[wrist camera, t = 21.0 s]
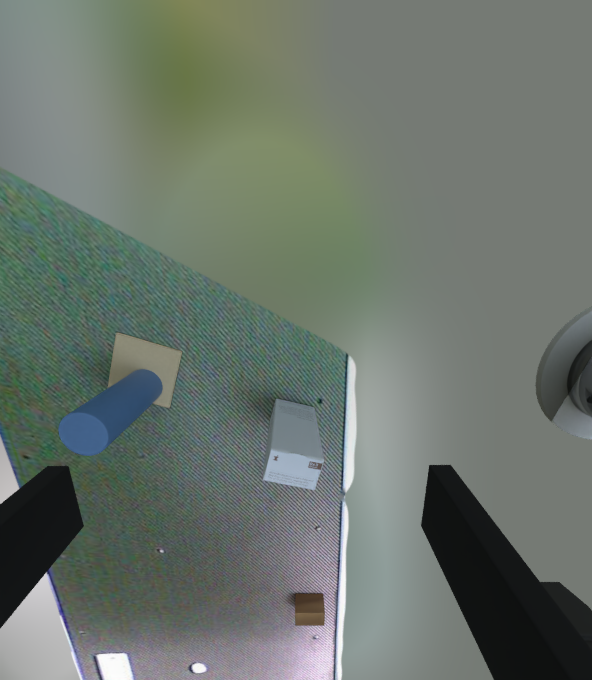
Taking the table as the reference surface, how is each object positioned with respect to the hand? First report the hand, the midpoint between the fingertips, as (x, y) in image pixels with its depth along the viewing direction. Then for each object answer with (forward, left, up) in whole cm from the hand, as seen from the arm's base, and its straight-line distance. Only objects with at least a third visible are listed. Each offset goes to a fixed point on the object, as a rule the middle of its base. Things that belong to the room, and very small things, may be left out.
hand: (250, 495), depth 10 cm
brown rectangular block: (-19, +47, -29) cm, 58 cm away
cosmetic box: (-5, +12, -29) cm, 32 cm away
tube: (+18, +13, -22) cm, 32 cm away
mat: (+17, +12, -29) cm, 35 cm away
